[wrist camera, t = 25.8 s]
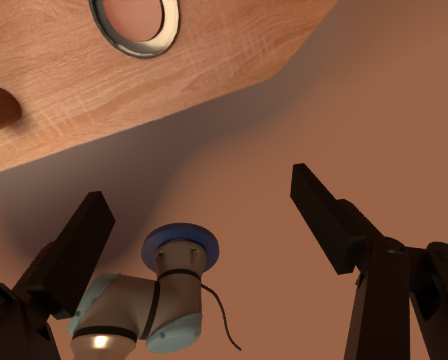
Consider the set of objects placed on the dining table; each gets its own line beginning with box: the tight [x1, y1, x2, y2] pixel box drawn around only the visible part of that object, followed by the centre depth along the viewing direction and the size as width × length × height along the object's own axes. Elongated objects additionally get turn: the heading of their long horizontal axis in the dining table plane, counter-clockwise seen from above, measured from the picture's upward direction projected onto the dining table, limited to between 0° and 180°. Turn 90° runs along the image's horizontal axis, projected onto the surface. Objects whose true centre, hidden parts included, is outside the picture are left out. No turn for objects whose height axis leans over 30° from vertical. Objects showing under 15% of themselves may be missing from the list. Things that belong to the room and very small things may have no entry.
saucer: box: [89, 0, 179, 59], centre depth 31 cm, size 12×12×2 cm
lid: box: [103, 0, 164, 42], centre depth 30 cm, size 8×8×2 cm
